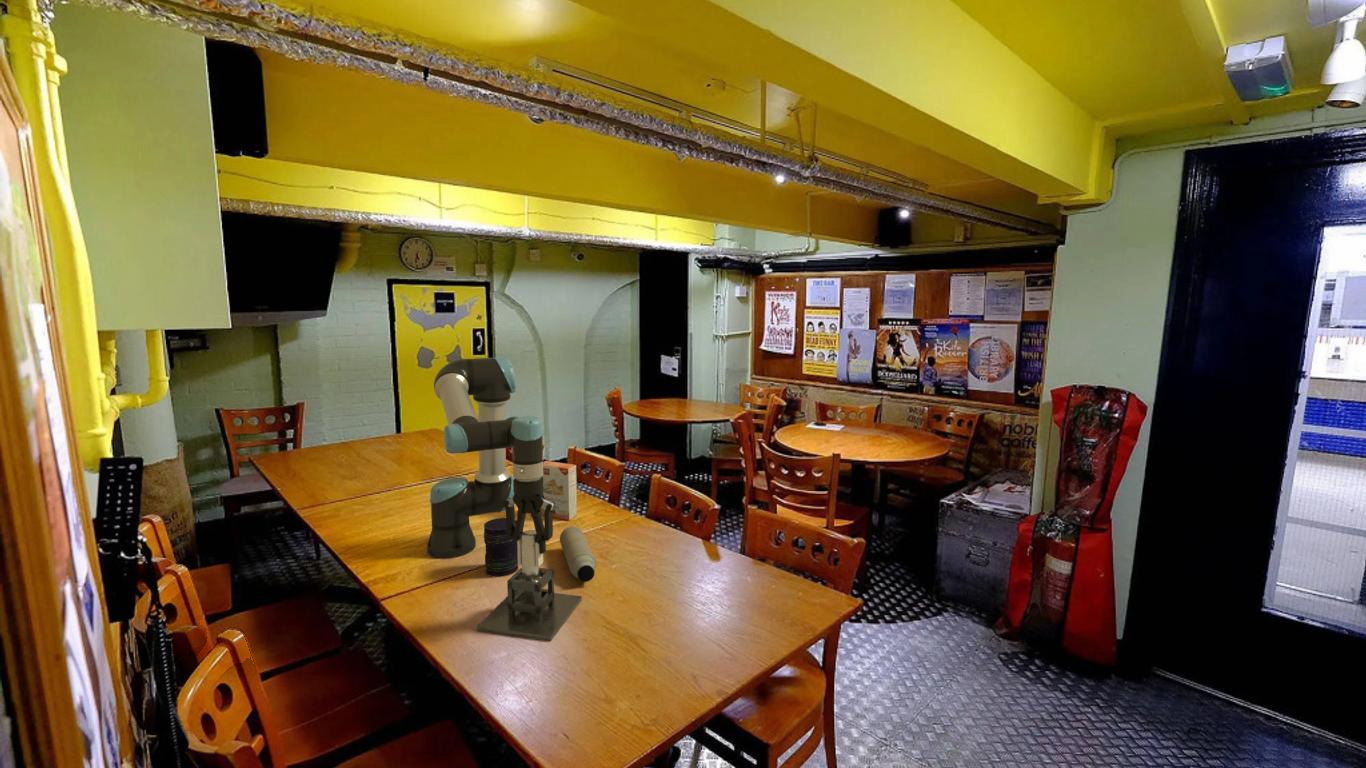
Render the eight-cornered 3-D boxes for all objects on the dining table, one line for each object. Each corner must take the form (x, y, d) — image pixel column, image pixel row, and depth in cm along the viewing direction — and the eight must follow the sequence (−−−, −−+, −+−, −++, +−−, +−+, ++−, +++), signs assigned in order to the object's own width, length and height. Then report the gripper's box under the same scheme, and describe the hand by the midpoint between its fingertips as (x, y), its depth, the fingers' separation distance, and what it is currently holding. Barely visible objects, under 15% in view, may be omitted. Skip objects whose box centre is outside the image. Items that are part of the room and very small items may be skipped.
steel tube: (519, 608, 150) (517, 535, 147) (527, 599, 154) (525, 529, 152) (535, 610, 149) (533, 537, 146) (543, 601, 154) (541, 530, 151)
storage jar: (500, 580, 171) (498, 532, 169) (478, 571, 176) (476, 525, 174) (525, 567, 179) (524, 521, 177) (503, 559, 185) (502, 515, 182)
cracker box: (538, 516, 223) (536, 463, 220) (547, 511, 228) (546, 460, 225) (568, 521, 217) (568, 468, 215) (577, 516, 223) (576, 464, 220)
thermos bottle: (587, 530, 194) (604, 566, 168) (576, 551, 194) (592, 590, 168) (566, 522, 192) (580, 557, 165) (555, 544, 191) (567, 582, 165)
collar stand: (477, 630, 144) (475, 588, 143) (515, 592, 164) (514, 555, 162) (550, 640, 140) (550, 598, 139) (581, 600, 160) (581, 562, 158)
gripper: (489, 479, 145) (492, 566, 148) (553, 484, 142) (555, 573, 145) (504, 471, 152) (507, 554, 156) (566, 475, 149) (567, 560, 152)
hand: (530, 563), depth 150 cm, fingers closed on steel tube, 4 cm apart
